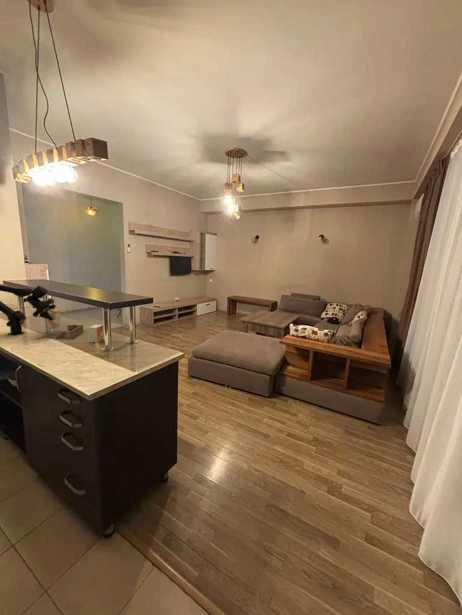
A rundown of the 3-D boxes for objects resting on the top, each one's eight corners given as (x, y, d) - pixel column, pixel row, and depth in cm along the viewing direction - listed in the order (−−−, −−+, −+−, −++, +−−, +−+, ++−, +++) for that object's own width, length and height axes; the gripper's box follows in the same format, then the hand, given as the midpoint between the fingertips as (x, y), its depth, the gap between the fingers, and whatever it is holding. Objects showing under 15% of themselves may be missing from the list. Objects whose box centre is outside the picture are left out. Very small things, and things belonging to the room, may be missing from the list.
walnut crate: (55, 338, 166) (55, 331, 165) (68, 331, 182) (68, 324, 181) (72, 338, 167) (71, 331, 166) (83, 331, 184) (83, 324, 183)
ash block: (49, 328, 169) (47, 310, 167) (53, 326, 174) (51, 309, 172) (56, 329, 170) (55, 311, 168) (60, 327, 175) (59, 309, 173)
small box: (97, 343, 163) (96, 327, 161) (88, 342, 163) (88, 327, 161) (103, 339, 171) (103, 324, 169) (95, 338, 171) (95, 324, 169)
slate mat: (41, 336, 167) (41, 336, 166) (51, 331, 178) (51, 331, 178) (59, 337, 168) (59, 336, 168) (68, 332, 180) (68, 331, 180)
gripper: (36, 297, 158) (56, 314, 162) (52, 293, 176) (70, 308, 180) (23, 308, 158) (43, 325, 162) (41, 303, 176) (58, 318, 180)
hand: (54, 319), depth 171 cm, fingers closed on ash block, 5 cm apart
